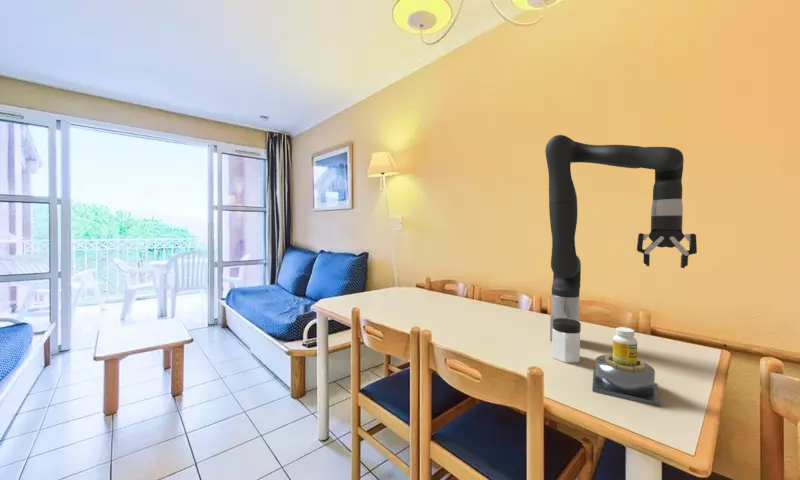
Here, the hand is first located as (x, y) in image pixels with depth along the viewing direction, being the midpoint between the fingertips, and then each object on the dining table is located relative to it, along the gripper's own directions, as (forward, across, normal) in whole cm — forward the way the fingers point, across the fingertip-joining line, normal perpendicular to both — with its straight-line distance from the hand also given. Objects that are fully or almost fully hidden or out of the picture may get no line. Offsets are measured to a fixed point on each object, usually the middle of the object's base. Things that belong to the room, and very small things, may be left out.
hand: (664, 266), depth 101 cm
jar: (+30, -26, -12) cm, 42 cm away
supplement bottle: (+24, -11, -25) cm, 36 cm away
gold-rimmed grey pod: (+30, -11, -25) cm, 41 cm away
